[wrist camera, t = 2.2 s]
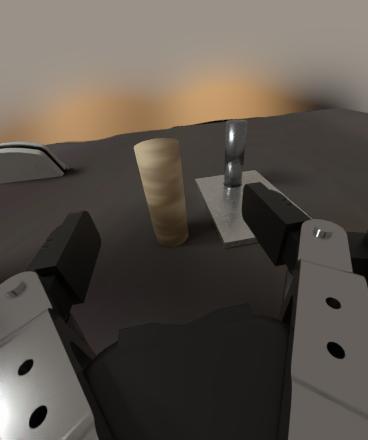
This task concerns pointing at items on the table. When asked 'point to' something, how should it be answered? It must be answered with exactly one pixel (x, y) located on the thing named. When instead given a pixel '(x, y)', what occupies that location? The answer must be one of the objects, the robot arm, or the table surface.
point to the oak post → (163, 189)
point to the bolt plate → (231, 190)
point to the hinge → (28, 162)
